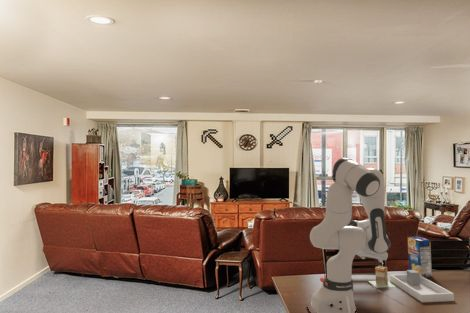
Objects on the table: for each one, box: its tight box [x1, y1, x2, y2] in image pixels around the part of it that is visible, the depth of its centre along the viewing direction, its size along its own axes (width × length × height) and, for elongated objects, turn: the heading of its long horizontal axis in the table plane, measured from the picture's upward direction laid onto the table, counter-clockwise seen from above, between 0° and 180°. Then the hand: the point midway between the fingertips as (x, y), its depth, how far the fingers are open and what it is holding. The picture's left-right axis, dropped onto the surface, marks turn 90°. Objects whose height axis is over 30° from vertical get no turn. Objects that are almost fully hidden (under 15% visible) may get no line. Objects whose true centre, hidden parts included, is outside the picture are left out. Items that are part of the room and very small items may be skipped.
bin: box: [389, 273, 455, 303], centre depth 168 cm, size 16×29×4 cm, turn 2°
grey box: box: [406, 269, 420, 286], centre depth 177 cm, size 4×4×7 cm
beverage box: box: [407, 235, 433, 278], centre depth 194 cm, size 7×11×22 cm, turn 7°
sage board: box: [367, 280, 397, 290], centre depth 179 cm, size 11×10×1 cm
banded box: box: [374, 265, 389, 286], centre depth 179 cm, size 5×5×9 cm
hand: (372, 259), depth 173 cm, fingers open, 8 cm apart
